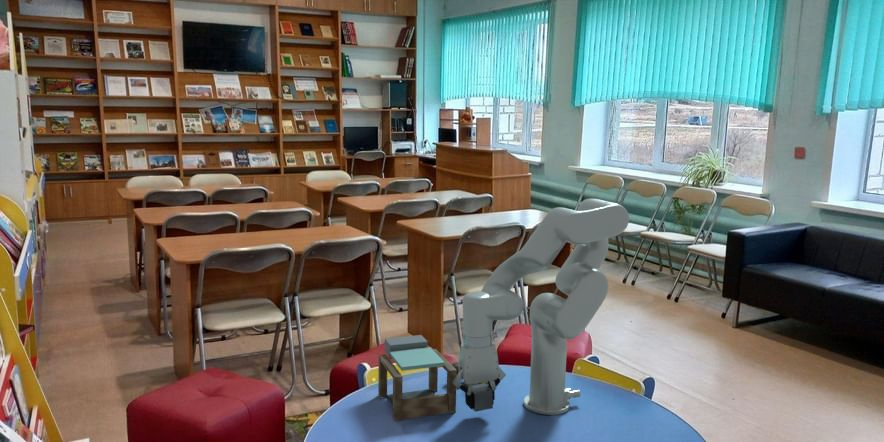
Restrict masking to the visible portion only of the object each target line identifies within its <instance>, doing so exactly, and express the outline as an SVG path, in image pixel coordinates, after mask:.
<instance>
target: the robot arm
mask: <svg viewBox="0 0 884 442" xmlns="http://www.w3.org/2000/svg"><path fill="white" fill-rule="evenodd" d="M629 223H630V215H629V213H628V210H627V209H626V208H625V207H624V206H623V205H621V204H619V203H616V202H612V201H607V200H603V199H598V198H586V199H584V200H582V201H581V202H580V203H579V205H578V207H577V210H574V209H570V208H566V207H562V206H561V207H560V206H559V207H554V208H552V209H550V210H549V211H548V212H547V213H546V215H545V216H544V217H543V218H542V220H541V222H540V223H539V224H538V226H537V227H536V229H535V230H534V232H533V233H532V234H531V235H530V237H529V238H528V240H527V241H526V243H525V244H524V245H523V247H522V248H521V249H520V250H519V251H517V252H515V253H514V254H513V255H511V256H510V257H509V258H506V260H505V261H502V263H500V264H499V265H498V266H497V267H496V268H495V270H493V272H492V273H491V274H490V276H489V278H488V279H487V280H486V282H485V284H484V285H483V287H482V289H481V291H471V292H467V293H465V294H464V296H463V298H462V323H463V324H462V325H463V329H462V330H463V343H461V344H460V348H459V353H458V356H459V357H458V363H459V365H458V375H457V376H456V378H455V379H454V381H453V384H454V385H455V386H456V388H457V389H460V390H461V391H462V392H464V397H465V400H464V403H465V405H466V406H468V408H469V409H471V410H473V408H474V406H473V395H472V388H473V385H477V384H476V383H482V382H487V383H488V387H489V388H490V389H491V390H492V398H493V405H494V401H495V400H496V396H495V393H496V392H495V391H496V390H497V387H498V386H499V384H500V383H501V381H502V380H503V379H504V378H505V377H506V376H507V374H506V372H505V371H503V370H502V369H501V367H500V366H499V357H498V351H497V345H496V343H495V342H494V339H495V338H498V333H497V332H494V331H493V321H511V320H515V319H517V318H518V317H520V316H521V315H522V313H523V312H524V309H525V303H524V300H523V298H522V296H521V295H520V294H518V293H517V292H514V291H513V290H512V288H513V287H514V286H515V285H516V283H517V282H519V280H521V279H522V278H524V277H526V276H528V275H530V274H535V273H539V272H542V271H545V270H547V269H548V268H549V267H550V266H551V265H552V263H553V261H555V259H556V258H557V257H558V255H559V253H560V252H561V250H562V249H563V248H564V246H565V245H566V243H569V244H573V245H575V246H574V248H573V250H572V251H571V253H570V254H569V256H568V257H567V258H566V260H564V263H563V264H562V266H561V267H560V269H558V270H559V271H558V272H557V274H556V276H555V282H554V283H555V286H556V288H557V289H558V290H559V291H560V292H561V293H563V294H564V295H566V296H568V297H567V298H564V297H562V296H560V295H557V294H555V293H551V292H544V293H540V294H538V295H537V296H535V298H534V299H533V300H532V302H531V305H530V307H529V320H530V322H529V323H530V329H531V330H530V331H531V349H530V350H531V351H530V352H531V354H530V375H529V376H530V377H529V394H527V395H526V396H525V397H524V398H523V405H524V407H525V408H526V409H527V410H529V411H530V412H532V413H536V414H539V415H548V416H550V415H551V416H555V415H562V414H563V413H564V414H565V413H566V412H568V411H569V410H570V409H571V408H570V405H571V404H570V401H569V400H571V399H572V398H573V399H574V398H580V397H581V391H580V389H575V390H574V389H573V390H572V388H570V387H568V388H566V375H567V374H566V371H567V367H566V366H567V353H568V341H567V340H573V339H576V338H577V337H579V336H580V335H582V333H583V332H584V331H585V329H586V328H587V327H588V325H589V324H590V322H591V321H592V319H593V318H594V316H595V315H596V313H597V312H598V310H599V309H600V308H601V306H602V304H603V302H605V299H606V297H607V295H608V292H609V281H608V277H607V276H606V274H605V273H604V272H602V271H601V270H600V268H601V266H602V264H603V262H604V261H605V259H606V257H607V254H608V251H609V238H613V237H617V236H619V235H621V234H622V233H624V232H625V230H626V229H627V227H628V226H629ZM462 380H463V383H462Z"/></svg>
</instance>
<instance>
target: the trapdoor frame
mask: <svg viewBox="0 0 884 442" xmlns="http://www.w3.org/2000/svg"><path fill="white" fill-rule="evenodd" d="M432 350H433V351H434V352H435V353H436V354H437V355H438V356H439V357H440V358H441V359H442V360H443V361H444V362H445V366H441V367H442V368H443V369H444V370H445V372H446V393H441V394H435V393H434V392H437V391H438V379H439V378H438V377H439V375H438V374H439V370H438V369H439V367H431V368H428V389H423V390H415V391H414V390H413V391H408V392H407V391H405V392H403V377H404V376H403V375H402V374H401V372H400V371H399V370H398V368H397V367H396V366H395V365H394V363H393V362H392V361H391V359H390V358H389V357H388V355H387V354H386V353H384V354H378V377H377V378H378V380H377V381H378V390H377V391H378V393H377V394H378V397H379V398H380V399H383V398H387V399H388V400H389V402H390V403H391V405H392V419H393V420H394V422H399V421H403V420H406V419H407V420H408V419H413V418H421V417H429V416H435V415H443V414H454V413H457V412H456V411H457V387H456V386H455V385H454V384H453V381H454V379H455V378H456V376H457V370H456V369H455V368H454V367H453V366H452V364H451V362H449V360H447V359H446V357H444V355H442V354H441V353H440V351H439V350H437V348H432ZM388 373H389V374H390V376H391V378H392V393H391V394H388Z"/></svg>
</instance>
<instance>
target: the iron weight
mask: <svg viewBox="0 0 884 442" xmlns="http://www.w3.org/2000/svg"><path fill="white" fill-rule="evenodd" d="M472 395H473V406H474V408H473V409H472V410H473V411H474V412H475V413H476V412H482V411H486V410H491V409H493V408H494V407H493V398H492V390H491V389H490V388H489V387H488V386H487V385H486V384H485V383H483V384H473V388H472Z"/></svg>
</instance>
